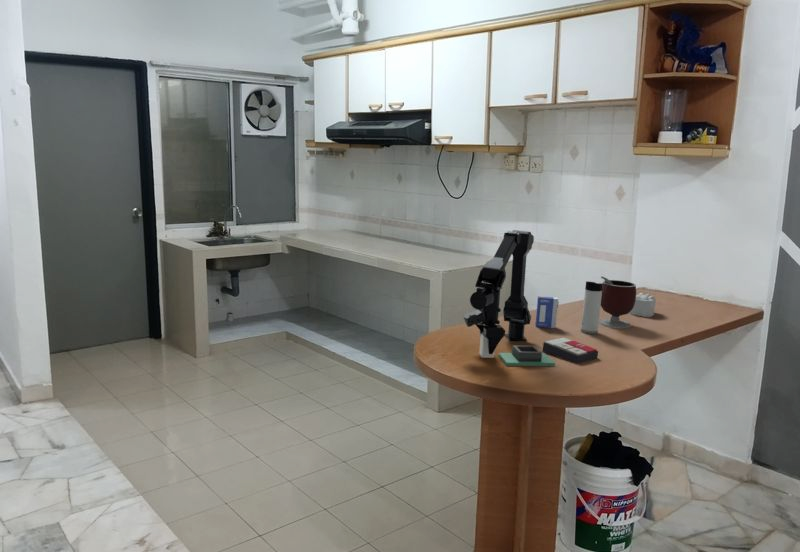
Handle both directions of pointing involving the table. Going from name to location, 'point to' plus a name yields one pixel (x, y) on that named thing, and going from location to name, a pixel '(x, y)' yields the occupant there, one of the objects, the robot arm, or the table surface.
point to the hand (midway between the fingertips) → (487, 349)
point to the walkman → (546, 312)
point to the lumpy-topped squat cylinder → (643, 305)
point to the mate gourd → (617, 301)
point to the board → (526, 357)
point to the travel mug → (591, 307)
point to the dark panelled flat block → (570, 350)
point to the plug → (484, 347)
